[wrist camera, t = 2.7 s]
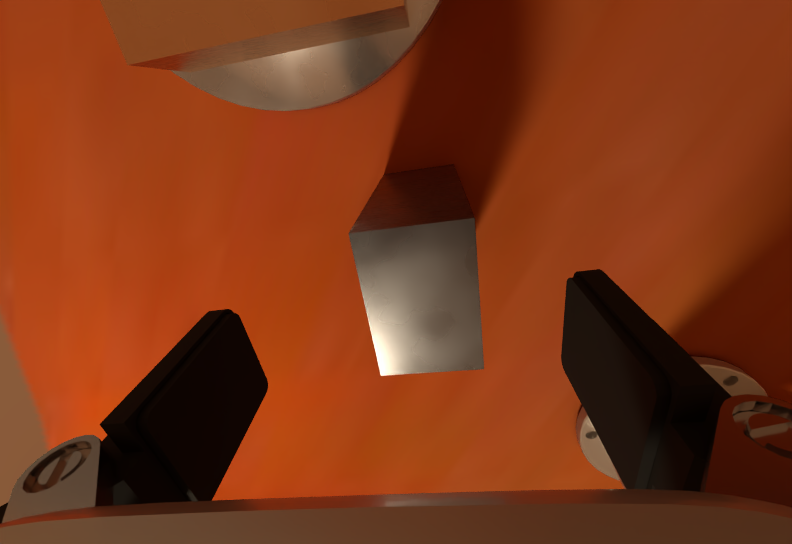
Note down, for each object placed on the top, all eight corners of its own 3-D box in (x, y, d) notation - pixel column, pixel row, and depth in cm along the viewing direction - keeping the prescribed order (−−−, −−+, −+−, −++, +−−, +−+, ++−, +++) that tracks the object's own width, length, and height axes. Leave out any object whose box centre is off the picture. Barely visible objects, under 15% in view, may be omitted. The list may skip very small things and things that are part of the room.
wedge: (453, 164, 20) (474, 217, 11) (461, 260, 22) (483, 369, 13) (383, 174, 20) (348, 233, 11) (399, 267, 23) (381, 375, 14)
